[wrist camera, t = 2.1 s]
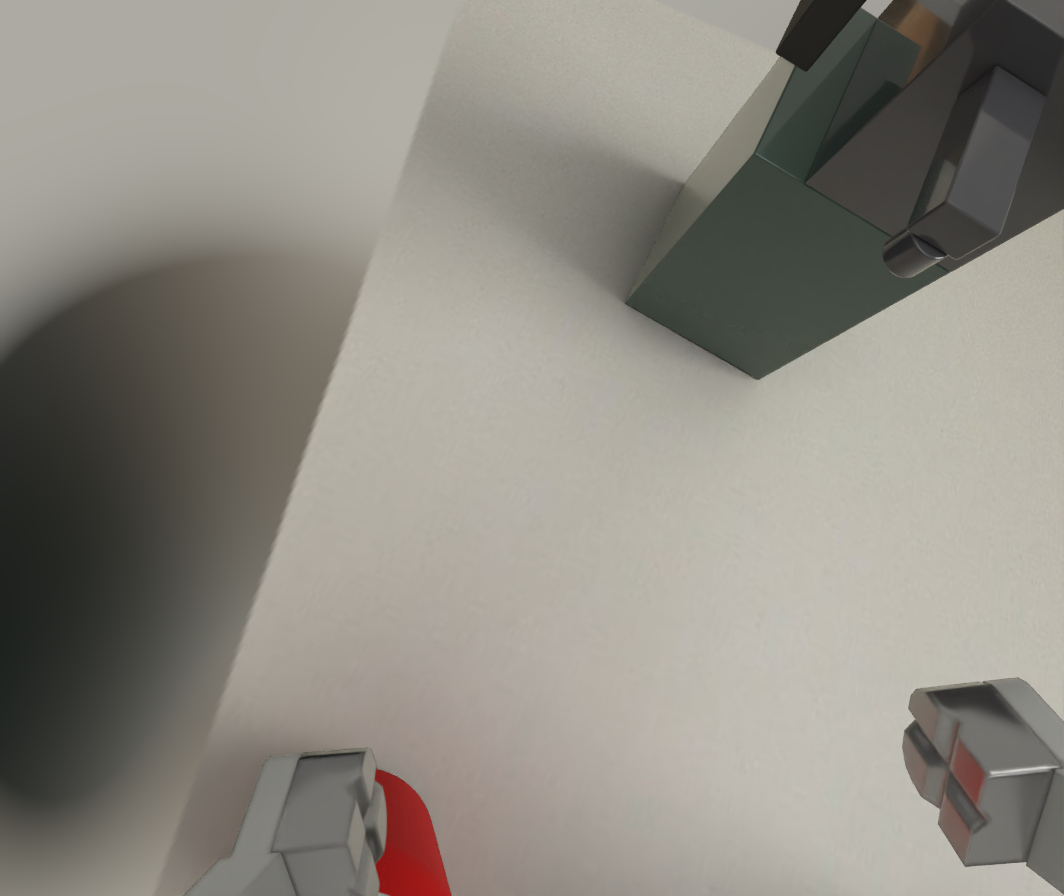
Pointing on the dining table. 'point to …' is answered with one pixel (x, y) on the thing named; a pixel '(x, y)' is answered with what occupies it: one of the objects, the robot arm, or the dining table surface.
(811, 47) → the plate
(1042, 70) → the dispenser
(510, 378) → the dining table surface
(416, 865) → the beverage can
